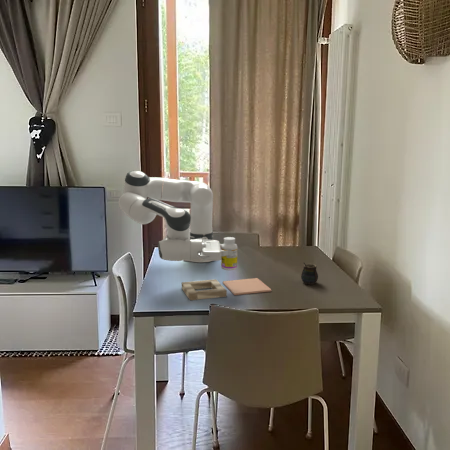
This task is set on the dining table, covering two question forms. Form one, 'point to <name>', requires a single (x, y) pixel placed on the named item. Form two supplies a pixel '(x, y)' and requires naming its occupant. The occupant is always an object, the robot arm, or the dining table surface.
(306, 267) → the mate gourd
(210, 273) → the dining table surface
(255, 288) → the terracotta tile
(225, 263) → the supplement bottle
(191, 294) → the frame
